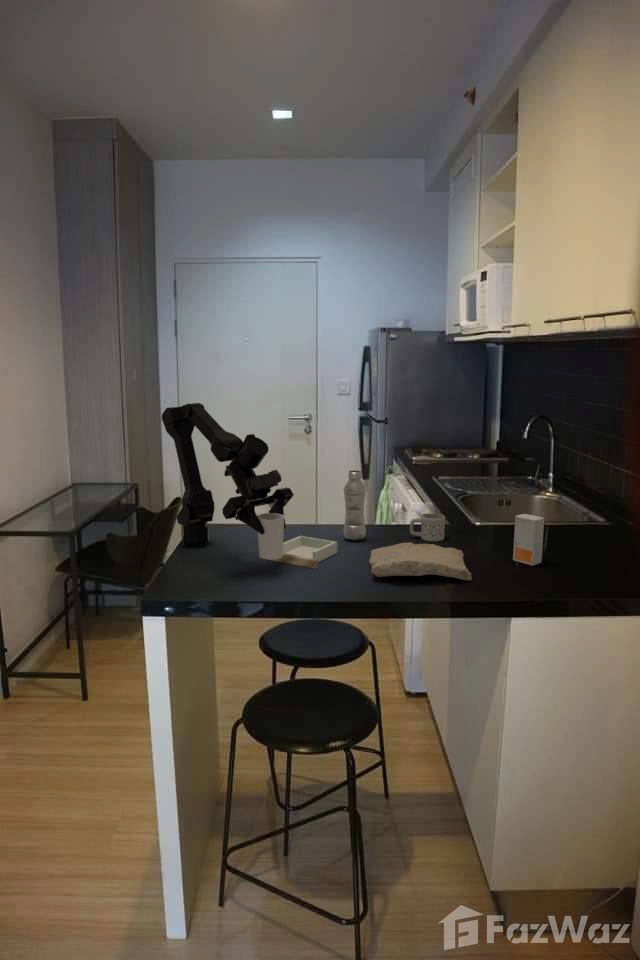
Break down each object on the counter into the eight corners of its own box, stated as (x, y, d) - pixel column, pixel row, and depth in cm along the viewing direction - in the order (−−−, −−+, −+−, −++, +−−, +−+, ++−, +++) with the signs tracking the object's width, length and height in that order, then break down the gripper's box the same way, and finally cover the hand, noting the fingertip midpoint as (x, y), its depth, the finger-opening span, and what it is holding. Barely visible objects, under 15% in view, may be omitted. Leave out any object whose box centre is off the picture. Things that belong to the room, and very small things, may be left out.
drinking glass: (283, 560, 161) (283, 519, 159) (256, 560, 161) (255, 519, 159) (285, 551, 167) (284, 513, 165) (258, 551, 167) (257, 513, 165)
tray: (313, 564, 170) (313, 553, 170) (275, 557, 176) (275, 546, 176) (337, 552, 180) (337, 541, 180) (300, 546, 186) (300, 535, 186)
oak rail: (263, 558, 175) (262, 551, 175) (266, 557, 176) (266, 549, 176) (314, 568, 167) (314, 561, 166) (317, 567, 168) (317, 559, 168)
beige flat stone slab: (474, 591, 154) (463, 557, 173) (474, 561, 152) (463, 530, 171) (368, 592, 156) (369, 558, 175) (367, 562, 154) (368, 531, 173)
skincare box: (512, 560, 172) (514, 515, 170) (521, 557, 175) (524, 513, 173) (532, 566, 168) (535, 520, 166) (542, 562, 170) (545, 517, 168)
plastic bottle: (366, 536, 196) (366, 469, 192) (365, 543, 189) (365, 473, 185) (344, 536, 196) (344, 469, 192) (342, 542, 190) (342, 473, 186)
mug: (442, 535, 197) (442, 513, 196) (445, 541, 190) (446, 518, 189) (408, 535, 197) (408, 513, 196) (410, 541, 191) (411, 518, 189)
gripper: (228, 464, 156) (257, 519, 150) (288, 456, 169) (318, 506, 163) (210, 492, 163) (237, 545, 158) (269, 482, 176) (297, 530, 170)
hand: (274, 530), depth 162 cm, fingers closed on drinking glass, 6 cm apart
